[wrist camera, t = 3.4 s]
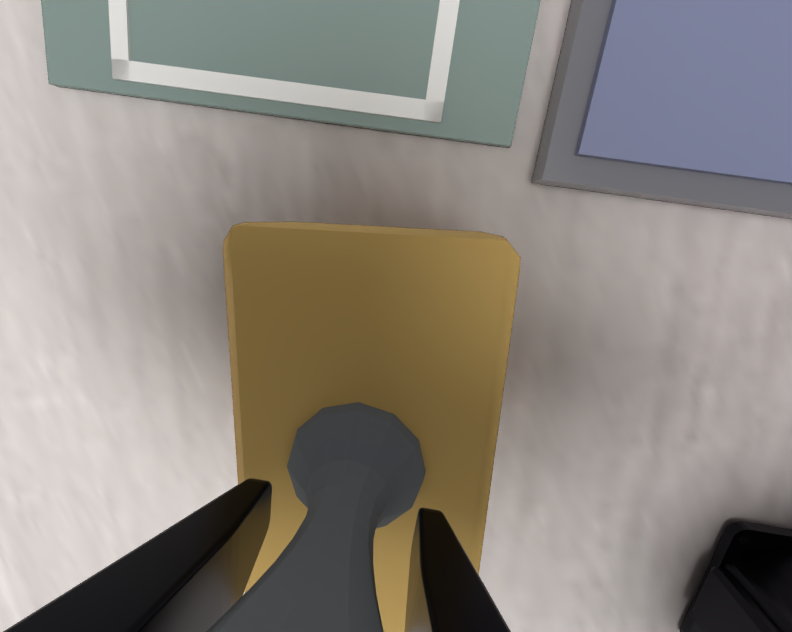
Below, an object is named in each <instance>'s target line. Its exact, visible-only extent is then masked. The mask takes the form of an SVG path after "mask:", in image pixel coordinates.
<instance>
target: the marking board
mask: <svg viewBox="0 0 792 632" xmlns="http://www.w3.org/2000/svg"><path fill="white" fill-rule="evenodd" d="M539 4H540V0H41V5H42V16H43V27H44V38H45V49H46V60H47V70H48V81H49V84H52V85H54V86H58V87H65V88H73V89H80V90H87V91H95V92H102V93H109V94H117V95H124V96H132V97H139V98H146V99H154V100H161V101H168V102H176V103H183V104H190V105H198V106H205V107H213V108H220V109H227V110H235V111H242V112H249V113H257V114H264V115H272V116H279V117H286V118H294V119H301V120H308V121H316V122H323V123H331V124H338V125H345V126H353V127H360V128H367V129H375V130H382V131H390V132H397V133H404V134H412V135H419V136H426V137H434V138H441V139H448V140H456V141H463V142H471V143H478V144H485V145H493V146H500V147H507V148H509V147H510V146H511V143H512V138H513V133H514V128H515V123H516V118H517V113H518V108H519V103H520V98H521V93H522V89H523V84H524V79H525V74H526V69H527V64H528V59H529V54H530V49H531V44H532V39H533V34H534V29H535V24H536V19H537V14H538V9H539Z"/></svg>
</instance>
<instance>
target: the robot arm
mask: <svg viewBox="0 0 792 632" xmlns="http://www.w3.org/2000/svg"><path fill="white" fill-rule="evenodd" d="M271 499H272V485H271V483H270V482H269V481H266V480H260V479H254V478H249V479H247V480H245V481H243V482H241V483H240V484H238V485H237V486H235V487H233V488H232V489H230V490H229V491H227V492H225V493H224V494H222V495H221V496H219V497H218V498H216V499H214V500H213V501H211V502H210V503H208V504H206V505H205V506H203V507H202V508H200V509H198V510H197V511H195V512H194V513H192V514H190V515H189V516H187V517H186V518H184V519H182V520H181V521H179V522H178V523H176V524H174V525H173V526H171V527H170V528H168V529H166V530H165V531H163V532H162V533H160V534H158V535H157V536H155V537H154V538H152V539H150V540H149V541H147V542H146V543H144V544H142V545H141V546H139V547H138V548H136V549H134V550H133V551H131V552H130V553H128V554H126V555H125V556H123V557H122V558H120V559H118V560H117V561H115V562H114V563H112V564H111V565H109V566H107V567H106V568H104V569H103V570H101V571H99V572H98V573H96V574H95V575H93V576H91V577H90V578H88V579H87V580H85V581H83V582H82V583H80V584H79V585H77V586H75V587H74V588H72V589H71V590H69V591H67V592H66V593H64V594H63V595H61V596H59V597H58V598H56V599H55V600H53V601H51V602H50V603H48V604H47V605H45V606H43V607H42V608H40V609H39V610H37V611H35V612H34V613H32V614H31V615H29V616H27V617H26V618H24V619H23V620H21V621H19V622H18V623H16V624H15V625H13V626H11V627H10V628H8V629H7V630H5V631H3V632H207V631H208V630H209V629H210V628H211V627H212V626H213V625H214V624H215V623H216V622H217V621H218V620H219V619H220V618H221V617H222V616H223V615H224V614H225V613H226V612H227V611H228V610H229V609H230V608H231V607H232V606H233V605H234V604H235V603H236V602H237V601H238V600H239V599H240V598H241V597H242V596H243V593H244V591H245V588H246V585H247V583H248V580H249V578H250V575H251V573H252V570H253V567H254V565H255V562H256V560H257V557H258V555H259V552H260V549H261V547H262V544H263V542H264V539H265V536H266V534H267V531H268V528H269V523H270V516H271ZM404 632H511V631H510V629H509V628H508V626H507V624H506V622H505V621H504V619H503V617H502V615H501V614H500V612H499V610H498V608H497V607H496V605H495V603H494V601H493V600H492V598H491V596H490V594H489V593H488V591H487V589H486V587H485V586H484V584H483V582H482V580H481V579H480V577H479V575H478V573H477V572H476V570H475V568H474V566H473V564H472V563H471V561H470V559H469V557H468V556H467V554H466V552H465V550H464V549H463V547H462V545H461V543H460V542H459V540H458V538H457V536H456V535H455V533H454V531H453V529H452V528H451V526H450V524H449V522H448V521H447V519H446V517H445V515H444V514H443V512H441V511H440V510H435V509H429V508H420V509H419V510H418V514H417V519H416V525H415V530H414V535H413V541H412V547H411V555H410V567H409V579H408V592H407V605H406V618H405V631H404ZM680 632H792V530H788V529H782V528H776V527H770V526H764V525H758V524H752V523H746V522H734V523H731V524H730V525H728V526H727V528H726V529H725V531H724V533H723V535H722V538H721V540H720V542H719V544H718V546H717V549H716V551H715V553H714V555H713V558H712V560H711V562H710V564H709V566H708V569H707V571H706V573H705V575H704V577H703V580H702V582H701V584H700V586H699V589H698V591H697V593H696V595H695V597H694V600H693V602H692V604H691V606H690V609H689V611H688V613H687V615H686V617H685V620H684V622H683V624H682V626H681V629H680Z"/></svg>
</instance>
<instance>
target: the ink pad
mask: <svg viewBox="0 0 792 632" xmlns="http://www.w3.org/2000/svg"><path fill="white" fill-rule="evenodd" d="M532 183H537V184H544V185H551V186H558V187H565V188H573V189H580V190H587V191H594V192H601V193H609V194H616V195H623V196H630V197H637V198H645V199H652V200H659V201H666V202H674V203H681V204H688V205H695V206H702V207H710V208H717V209H724V210H731V211H738V212H746V213H753V214H760V215H767V216H774V217H782V218H789V219H792V0H572V2H571V7H570V11H569V16H568V20H567V25H566V30H565V34H564V39H563V43H562V48H561V52H560V57H559V61H558V66H557V70H556V75H555V79H554V84H553V88H552V93H551V98H550V102H549V107H548V111H547V116H546V120H545V125H544V129H543V134H542V138H541V143H540V147H539V152H538V156H537V161H536V166H535V170H534V175H533V179H532Z"/></svg>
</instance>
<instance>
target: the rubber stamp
mask: <svg viewBox="0 0 792 632" xmlns="http://www.w3.org/2000/svg"><path fill="white" fill-rule="evenodd" d="M223 259H224V274H225V289H226V305H227V320H228V335H229V351H230V366H231V381H232V397H233V412H234V427H235V443H236V458H237V473H238V484H240V483H241V482H243V481H245V480H247V479H249V478H254V479H260V480H266V481H269V482H270V483H271V485H272V499H271V516H270V523H269V528H268V531H267V534H266V536H265V539H264V542H263V544H262V547H261V549H260V552H259V555H258V557H257V560H256V562H255V565H254V567H253V570H252V573H251V575H250V578H249V580H248V583H247V585H246V588H245V594H244V595H243V596H242V597H241V598H240V599H239V600H238V601H237V602H236V603H235V604H234V605H233V606H232V607H231V608H230V609H229V610H228V611H227V612H226V613H225V614H224V615H223V616H222V617H221V618H220V619H219V620H218V621H217V622H216V623H215V624H214V625H213V626H212V627H211V628H210V629H209V630H208V631H207V632H404V631H405V618H406V605H407V592H408V579H409V567H410V555H411V547H412V541H413V535H414V530H415V525H416V519H417V514H418V510H419V509H420V508H429V509H435V510H440V511H441V512H443V514H444V515H445V517H446V519H447V521H448V522H449V524H450V526H451V528H452V529H453V531H454V533H455V535H456V536H457V538H458V540H459V542H460V543H461V545H462V547H463V549H464V550H465V552H466V554H467V556H468V557H469V559H470V561H471V563H472V564H473V566H474V568H475V570H476V572H477V573H478V575H479V568H480V560H481V553H482V545H483V538H484V531H485V523H486V516H487V508H488V501H489V494H490V486H491V479H492V471H493V464H494V456H495V449H496V442H497V434H498V427H499V419H500V412H501V404H502V397H503V390H504V382H505V375H506V367H507V360H508V353H509V345H510V338H511V330H512V323H513V315H514V308H515V301H516V293H517V286H518V278H519V271H520V256H519V255H518V254H517V252H516V251H515V250H514V248H513V247H512V246H511V245H510V243H509V242H508V241H507V240H506V239H505V238H504V237H502V236H498V235H493V234H489V233H484V232H477V231H458V230H440V229H421V228H403V227H384V226H366V225H347V224H329V223H310V222H245V223H240V224H236V225H233V226H232V228H231V230H230V231H229V233H228V235H227V236H226V238H225V239H224V245H223Z"/></svg>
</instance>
